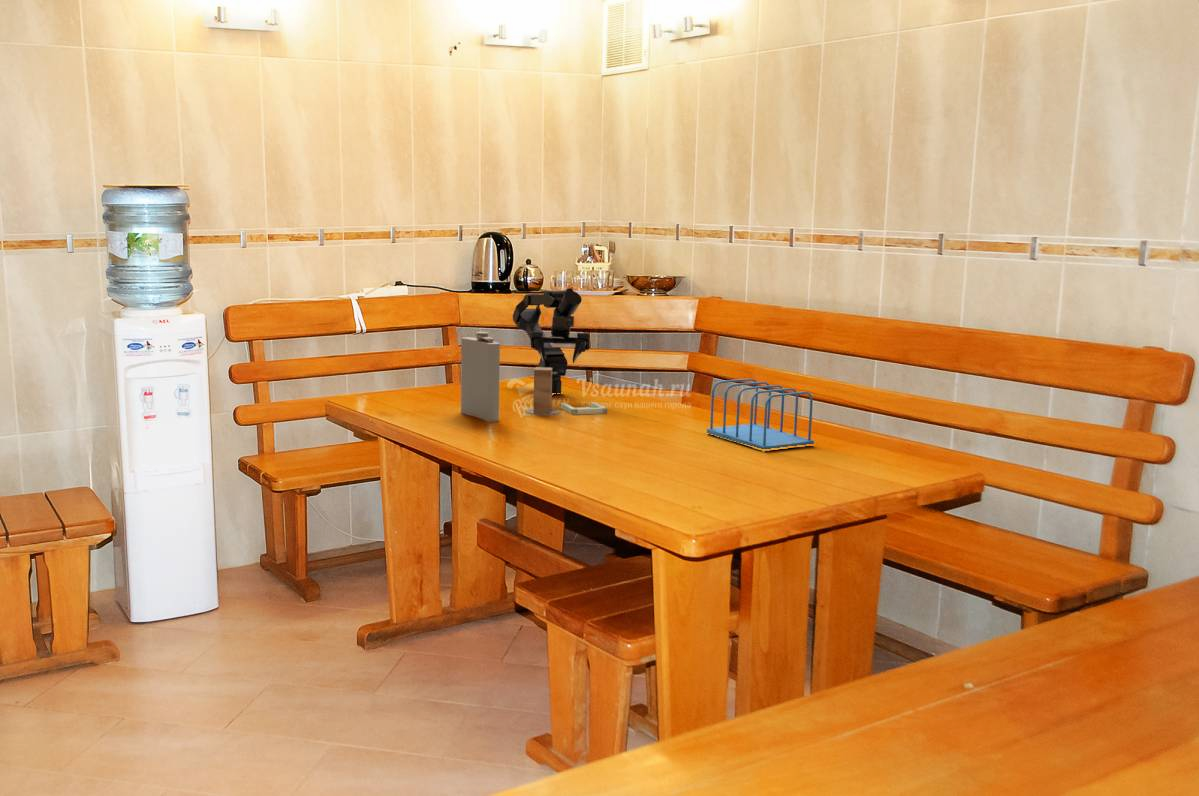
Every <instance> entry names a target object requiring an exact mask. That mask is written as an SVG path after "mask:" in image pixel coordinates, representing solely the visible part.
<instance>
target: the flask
mask: <svg viewBox="0 0 1199 796" xmlns="http://www.w3.org/2000/svg"><path fill="white" fill-rule="evenodd" d="M475 334H476V335H475V337H473V336H472V337H470V336H467V337H461V344H460V345H461V349H460V350H461V353H460V356H461V357H460V362H461V363H460V365H461V366H460V413H461V414H462V415H468V416H472V417H475V418H478V419H481V420H482V421H485V422H490V423H492V422H493V423H495V422H498V421H499V420H500V367H501V365H500V364H501V363H500V359H501V358H500V356H501V355H500V354H501V351H500V350H501V349H500V347H501V345H500V344H501V343H500V342H497V341H495V338H494V337H492V336H489V334H490V332H488V331H477V332H475Z"/></svg>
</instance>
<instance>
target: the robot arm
mask: <svg viewBox="0 0 1199 796" xmlns="http://www.w3.org/2000/svg"><path fill="white" fill-rule="evenodd" d="M582 299H583V298H582V296H581V295H580V294H579V293H578V292H576V291H575V290H574V289H573V288H571V287H570V288H566V289H565V290H562V289H561V290H550V289H549V290H546V291H544V292H543V293H526V294H525V295H524V296H523V299H522V300H521V301H520V302H518V303H517V305H516V306H515V309H514V310H513V314H512V321H513V323H514V325H516V326H517V327H518V329H519V330H522V331H524V332H526V334H527V336H528V337H529V339H530V340H529V341H530V348H531V349H533V350H535V351H537V352H538V354H539V356H540V359H539V362H538V365H537V366H536V367H543V368H552V393H556V394H557V393H561V392H562V377H565V376H566V374H567V369H568V365H569V364H568V359H567V357H566V355H565V353H564V352H563V350H562V348H561V347H560V346H553V345H552V344H556V345H557V344H558V345H574V350H573V355H572V364H574V363H575V362H576V360H577V359H578V358H579V356H580V355H581V354H582V353H584V352H586V351H589V350H590V345H591V344H590V343H591V336H590V333H588V332H577V333H576V337H571V336H570V335H571V328H574V327H575V316H574V314H575V312H576V311H577V310H578V308H579V306H580V305H581V303H582ZM541 305H542V306H543V307H544V308H547V309H553V315H552V320H551V321H552V322H551V327H550V328H551V329H550V333H551V334H550V335H546V334H545V332H544V331H543V328H541V326H540V324H539V321H540V318H541V315H542V311H541V307H540V306H541ZM529 306H536V307H535V308H528V307H529ZM572 315H573V316H572Z"/></svg>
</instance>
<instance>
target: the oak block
mask: <svg viewBox="0 0 1199 796" xmlns="http://www.w3.org/2000/svg"><path fill="white" fill-rule="evenodd" d="M552 397H553V396H552V368H543V367H537V366H535V368H534V369H533V408H532V409H533V413H550V412H551V409H552V405H553V404H552V402H553V401H552Z"/></svg>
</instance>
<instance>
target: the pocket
mask: <svg viewBox="0 0 1199 796" xmlns="http://www.w3.org/2000/svg"><path fill="white" fill-rule="evenodd" d="M560 409H562V410H564V412H565V411H566V412H567V413H568V414H570V415H572V416H574V415H596V414H597V415H599V414H608V407H606V406H604V405H601V404H600V403H597V402H595V401H590V402H589V406H581V407H574V406H572V405H570V404H569V403H566V402H561V403H560Z"/></svg>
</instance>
